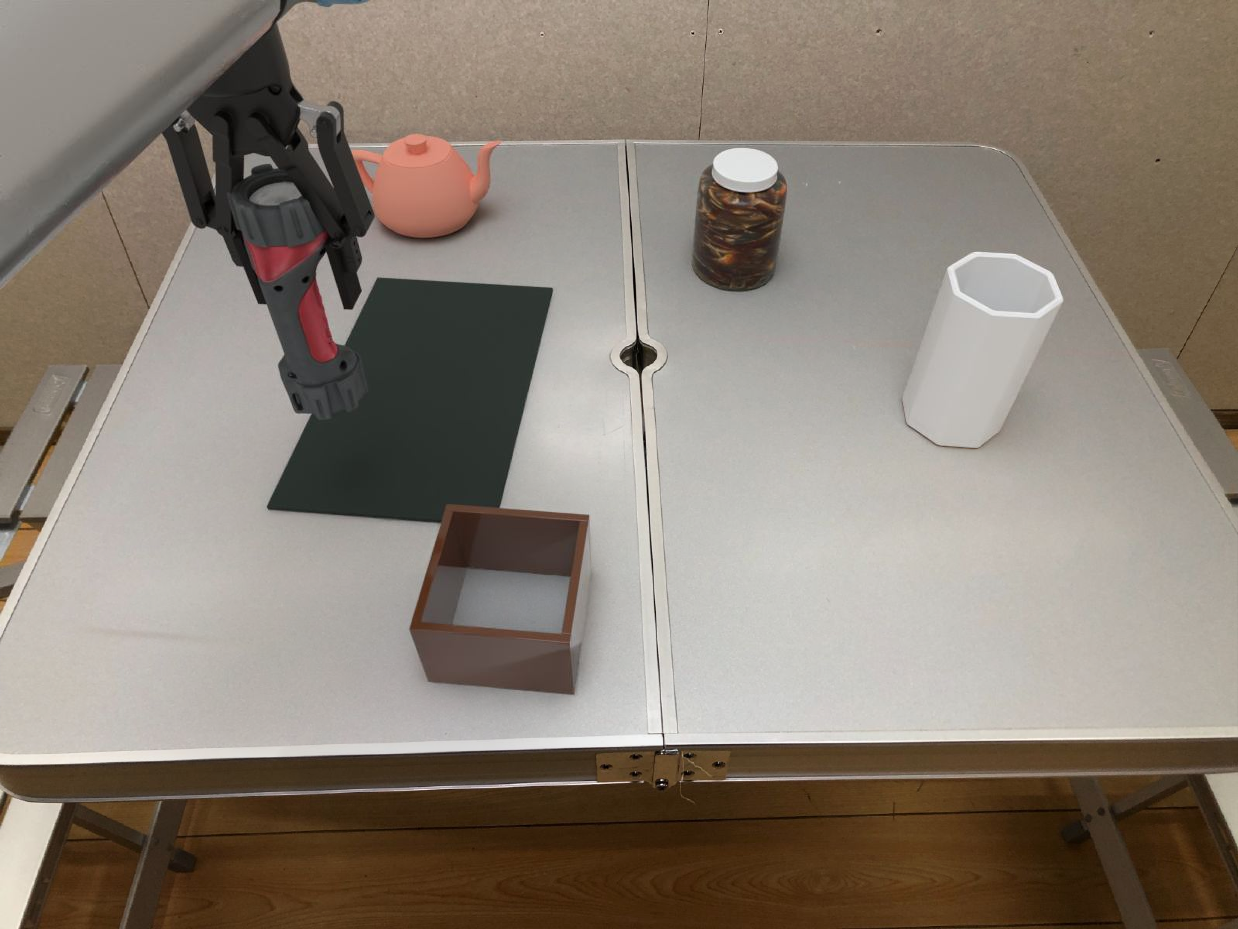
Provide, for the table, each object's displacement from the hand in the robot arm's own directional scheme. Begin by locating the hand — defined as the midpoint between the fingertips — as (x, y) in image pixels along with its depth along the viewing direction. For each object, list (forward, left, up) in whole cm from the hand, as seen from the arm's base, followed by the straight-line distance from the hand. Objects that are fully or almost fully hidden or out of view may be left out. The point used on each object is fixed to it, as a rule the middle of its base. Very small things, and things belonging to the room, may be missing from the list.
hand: (310, 296), depth 73 cm
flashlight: (0, 0, -12) cm, 12 cm away
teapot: (-5, +50, -24) cm, 56 cm away
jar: (+39, +42, -24) cm, 62 cm away
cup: (+64, +15, -24) cm, 70 cm away
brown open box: (+19, -17, -23) cm, 35 cm away
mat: (+3, +14, -23) cm, 27 cm away
